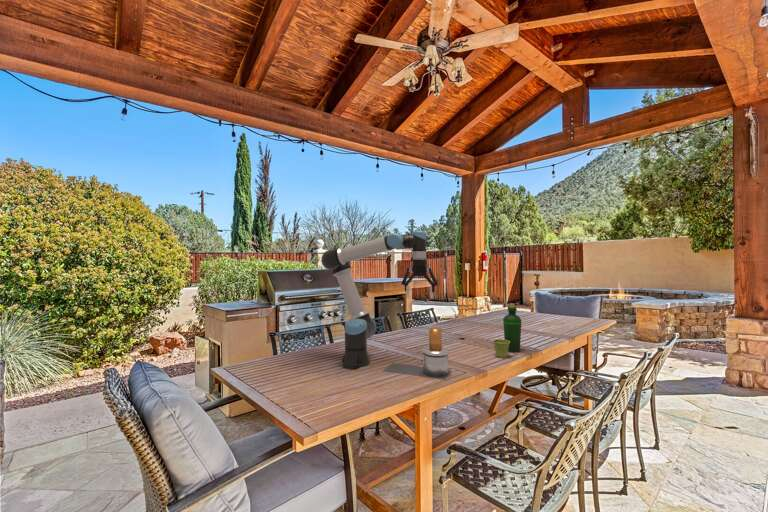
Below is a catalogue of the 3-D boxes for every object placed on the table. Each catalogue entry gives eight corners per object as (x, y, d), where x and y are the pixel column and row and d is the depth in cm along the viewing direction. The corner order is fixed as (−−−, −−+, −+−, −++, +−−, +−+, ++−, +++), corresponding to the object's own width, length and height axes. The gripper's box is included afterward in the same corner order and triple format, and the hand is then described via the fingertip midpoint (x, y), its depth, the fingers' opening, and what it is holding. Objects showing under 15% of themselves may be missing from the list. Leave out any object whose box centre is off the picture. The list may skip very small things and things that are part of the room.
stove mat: (381, 373, 172) (381, 371, 172) (392, 364, 184) (392, 363, 184) (445, 381, 159) (445, 379, 159) (452, 372, 172) (452, 370, 172)
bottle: (523, 349, 212) (523, 303, 212) (519, 354, 203) (519, 306, 203) (505, 347, 218) (505, 302, 218) (501, 351, 209) (500, 304, 209)
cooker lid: (418, 354, 165) (418, 330, 165) (426, 347, 176) (425, 325, 177) (445, 357, 159) (445, 332, 160) (451, 350, 171) (451, 327, 172)
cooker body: (419, 375, 165) (419, 354, 165) (427, 367, 176) (426, 348, 176) (445, 378, 160) (445, 357, 160) (451, 370, 171) (450, 350, 171)
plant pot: (511, 359, 193) (511, 343, 193) (493, 358, 195) (493, 342, 195) (509, 354, 202) (508, 339, 202) (492, 353, 204) (492, 338, 204)
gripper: (443, 258, 189) (443, 298, 188) (400, 259, 198) (400, 296, 198) (439, 259, 182) (440, 299, 182) (395, 259, 192) (395, 297, 191)
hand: (419, 298), depth 190 cm, fingers open, 13 cm apart
